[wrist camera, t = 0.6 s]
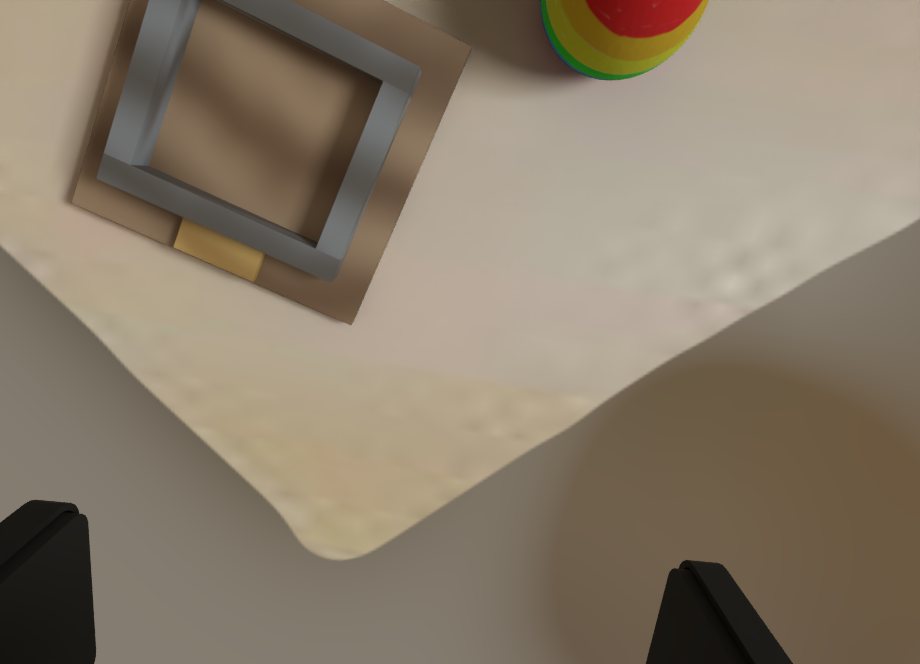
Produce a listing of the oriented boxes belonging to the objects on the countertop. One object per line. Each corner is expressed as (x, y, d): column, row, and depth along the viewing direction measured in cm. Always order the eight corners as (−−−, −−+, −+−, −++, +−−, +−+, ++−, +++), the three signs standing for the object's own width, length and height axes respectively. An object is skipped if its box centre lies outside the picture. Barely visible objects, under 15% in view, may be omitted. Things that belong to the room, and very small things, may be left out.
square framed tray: (172, -106, 31) (143, -135, 28) (471, 50, 33) (473, 38, 30) (81, 202, 35) (48, 204, 32) (353, 321, 37) (345, 333, 34)
